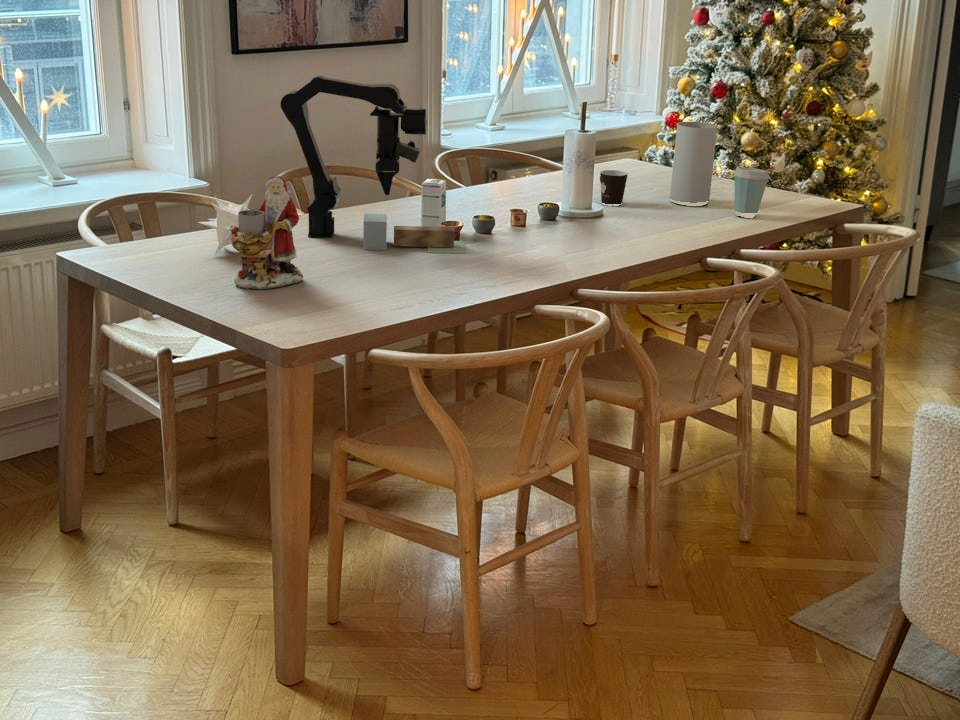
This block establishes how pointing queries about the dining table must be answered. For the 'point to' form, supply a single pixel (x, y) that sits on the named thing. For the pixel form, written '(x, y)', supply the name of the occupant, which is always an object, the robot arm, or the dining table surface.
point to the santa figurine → (267, 240)
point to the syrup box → (433, 203)
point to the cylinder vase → (693, 162)
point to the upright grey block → (375, 231)
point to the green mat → (449, 248)
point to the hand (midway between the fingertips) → (387, 191)
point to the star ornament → (225, 221)
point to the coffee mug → (612, 186)
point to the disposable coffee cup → (749, 189)
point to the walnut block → (423, 236)
